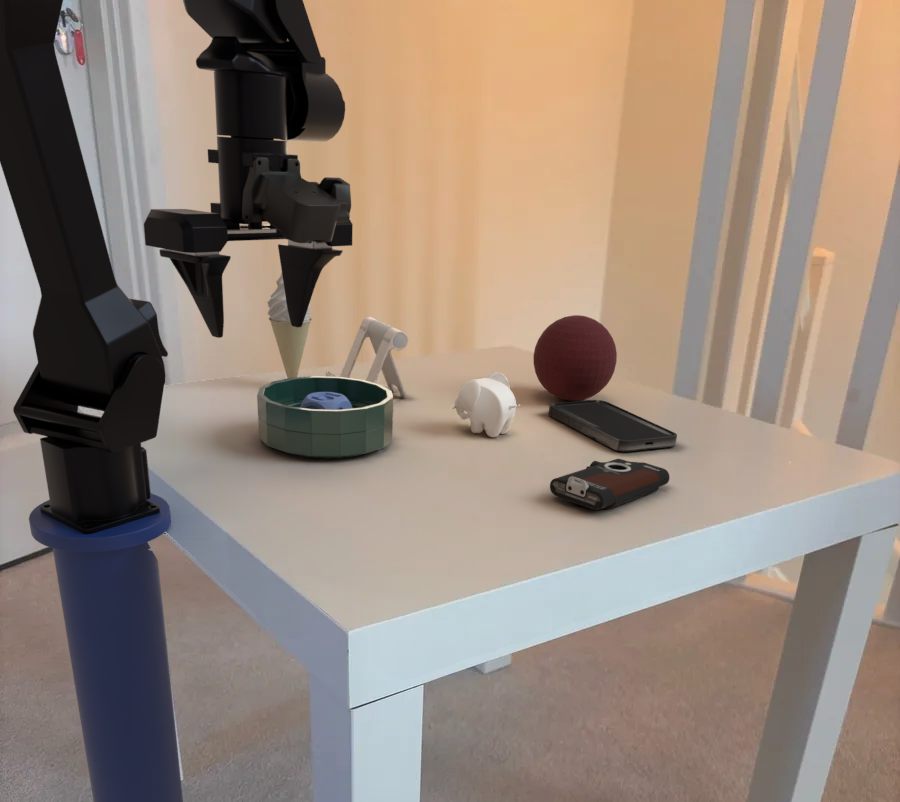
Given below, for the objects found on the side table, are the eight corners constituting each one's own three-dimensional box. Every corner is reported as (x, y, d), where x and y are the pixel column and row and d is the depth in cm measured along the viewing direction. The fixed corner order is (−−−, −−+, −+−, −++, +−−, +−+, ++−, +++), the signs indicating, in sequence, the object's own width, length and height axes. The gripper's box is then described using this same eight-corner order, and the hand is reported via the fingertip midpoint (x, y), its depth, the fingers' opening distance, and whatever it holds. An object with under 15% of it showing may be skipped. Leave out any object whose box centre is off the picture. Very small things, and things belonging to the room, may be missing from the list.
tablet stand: (324, 389, 110) (324, 318, 106) (384, 385, 114) (385, 316, 110) (352, 408, 103) (352, 333, 100) (414, 403, 107) (417, 330, 103)
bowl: (325, 472, 84) (325, 419, 82) (232, 440, 91) (229, 390, 89) (418, 442, 94) (419, 394, 91) (326, 415, 101) (326, 370, 98)
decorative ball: (603, 415, 107) (615, 327, 102) (521, 403, 109) (528, 318, 105) (616, 395, 115) (627, 313, 111) (539, 385, 118) (547, 305, 113)
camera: (543, 470, 80) (613, 448, 88) (542, 500, 81) (611, 476, 89) (603, 483, 76) (672, 460, 84) (601, 515, 77) (668, 489, 85)
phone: (601, 399, 108) (681, 435, 96) (600, 408, 109) (679, 445, 97) (544, 403, 105) (620, 442, 93) (543, 413, 105) (618, 452, 94)
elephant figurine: (471, 418, 103) (474, 365, 100) (532, 432, 99) (538, 378, 96) (436, 430, 98) (439, 375, 95) (500, 446, 94) (505, 389, 91)
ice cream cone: (266, 383, 112) (260, 253, 105) (306, 380, 114) (303, 253, 107) (277, 393, 107) (272, 259, 101) (318, 391, 110) (316, 259, 103)
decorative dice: (354, 434, 93) (354, 395, 91) (332, 444, 90) (331, 404, 88) (321, 427, 94) (320, 389, 93) (298, 437, 91) (297, 397, 89)
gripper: (224, 137, 64) (234, 360, 71) (399, 148, 78) (394, 335, 85) (131, 130, 70) (149, 337, 77) (309, 142, 84) (310, 317, 91)
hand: (258, 331), depth 82 cm, fingers open, 9 cm apart
